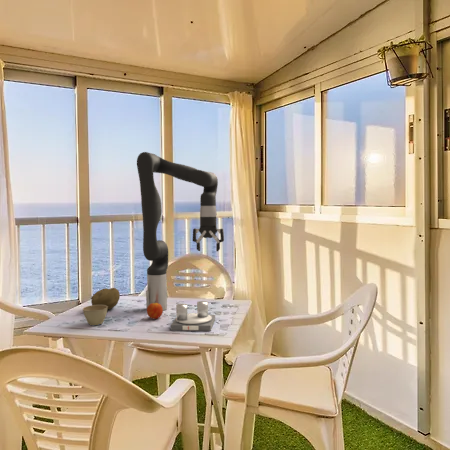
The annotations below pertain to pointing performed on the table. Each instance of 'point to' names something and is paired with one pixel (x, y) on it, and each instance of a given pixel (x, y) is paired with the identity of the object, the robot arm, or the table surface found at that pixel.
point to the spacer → (202, 309)
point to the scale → (194, 323)
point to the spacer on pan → (181, 312)
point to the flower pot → (95, 314)
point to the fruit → (154, 310)
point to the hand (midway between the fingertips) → (208, 251)
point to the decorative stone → (106, 297)
